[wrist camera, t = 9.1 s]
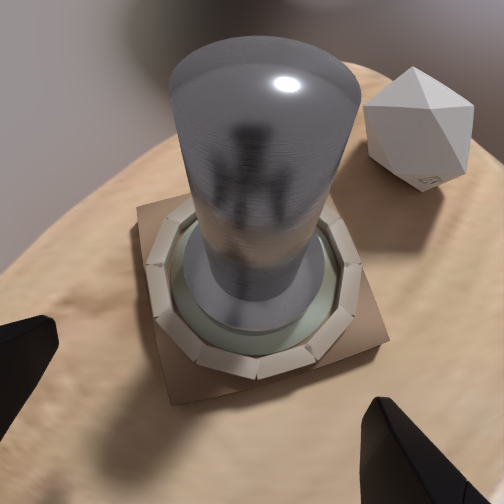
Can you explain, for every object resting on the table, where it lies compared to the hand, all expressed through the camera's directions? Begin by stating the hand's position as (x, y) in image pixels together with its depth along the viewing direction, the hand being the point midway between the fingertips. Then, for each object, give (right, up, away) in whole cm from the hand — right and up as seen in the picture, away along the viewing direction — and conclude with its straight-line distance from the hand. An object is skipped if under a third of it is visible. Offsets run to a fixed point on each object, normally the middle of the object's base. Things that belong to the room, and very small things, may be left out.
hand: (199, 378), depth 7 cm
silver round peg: (+1, +2, +10) cm, 10 cm away
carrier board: (+1, +2, +11) cm, 11 cm away
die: (+13, +10, +16) cm, 23 cm away
